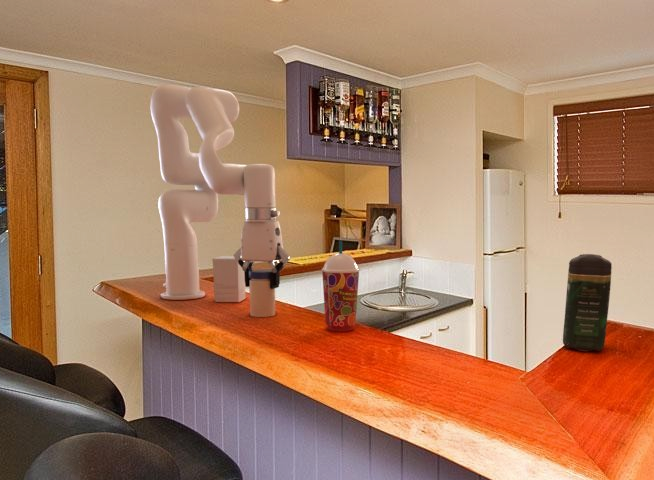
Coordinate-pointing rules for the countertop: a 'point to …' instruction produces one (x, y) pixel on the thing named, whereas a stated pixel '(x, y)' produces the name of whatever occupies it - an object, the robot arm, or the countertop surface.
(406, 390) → the countertop surface
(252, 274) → the jar lid
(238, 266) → the white packaging box
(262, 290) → the jar
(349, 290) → the smoothie
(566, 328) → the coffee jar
